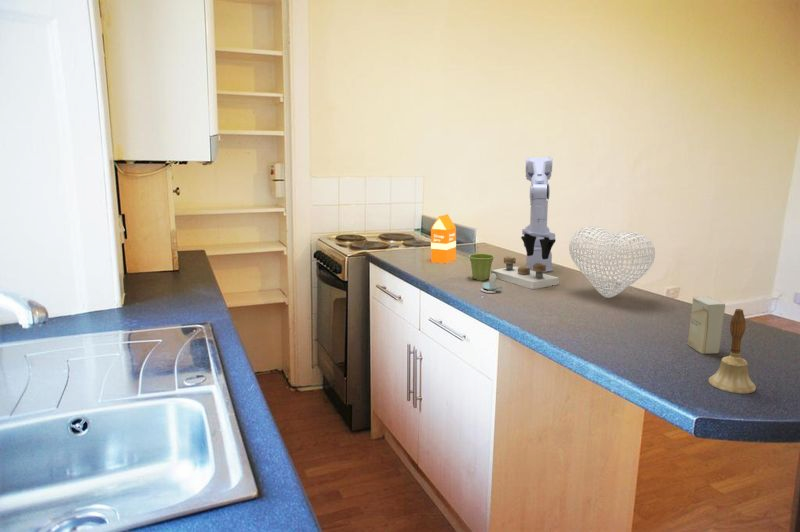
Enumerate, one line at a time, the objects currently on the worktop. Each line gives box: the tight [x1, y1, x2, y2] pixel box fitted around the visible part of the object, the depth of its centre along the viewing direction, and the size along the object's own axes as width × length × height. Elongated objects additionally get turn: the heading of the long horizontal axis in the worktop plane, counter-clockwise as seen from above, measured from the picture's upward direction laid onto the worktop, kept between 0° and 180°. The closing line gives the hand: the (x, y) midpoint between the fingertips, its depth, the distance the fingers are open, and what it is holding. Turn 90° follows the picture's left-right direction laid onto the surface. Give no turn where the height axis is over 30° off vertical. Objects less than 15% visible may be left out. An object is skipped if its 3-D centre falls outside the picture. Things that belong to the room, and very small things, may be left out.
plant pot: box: [468, 253, 495, 281], centre depth 206 cm, size 9×9×9 cm
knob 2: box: [533, 263, 546, 278], centre depth 194 cm, size 4×4×5 cm
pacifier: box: [480, 273, 502, 294], centre depth 188 cm, size 7×6×6 cm
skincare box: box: [687, 296, 726, 355], centre depth 130 cm, size 6×4×12 cm
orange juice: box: [430, 213, 457, 264], centre depth 238 cm, size 8×9×20 cm
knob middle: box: [518, 265, 530, 275], centre depth 202 cm, size 4×4×5 cm
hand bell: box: [708, 308, 757, 395], centre depth 110 cm, size 8×8×16 cm
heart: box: [568, 225, 656, 299], centre depth 175 cm, size 28×16×22 cm, turn 31°
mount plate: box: [490, 266, 560, 290], centre depth 202 cm, size 12×23×2 cm, turn 29°
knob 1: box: [503, 255, 517, 270], centre depth 208 cm, size 4×4×5 cm
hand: (537, 257), depth 194 cm, fingers open, 7 cm apart
